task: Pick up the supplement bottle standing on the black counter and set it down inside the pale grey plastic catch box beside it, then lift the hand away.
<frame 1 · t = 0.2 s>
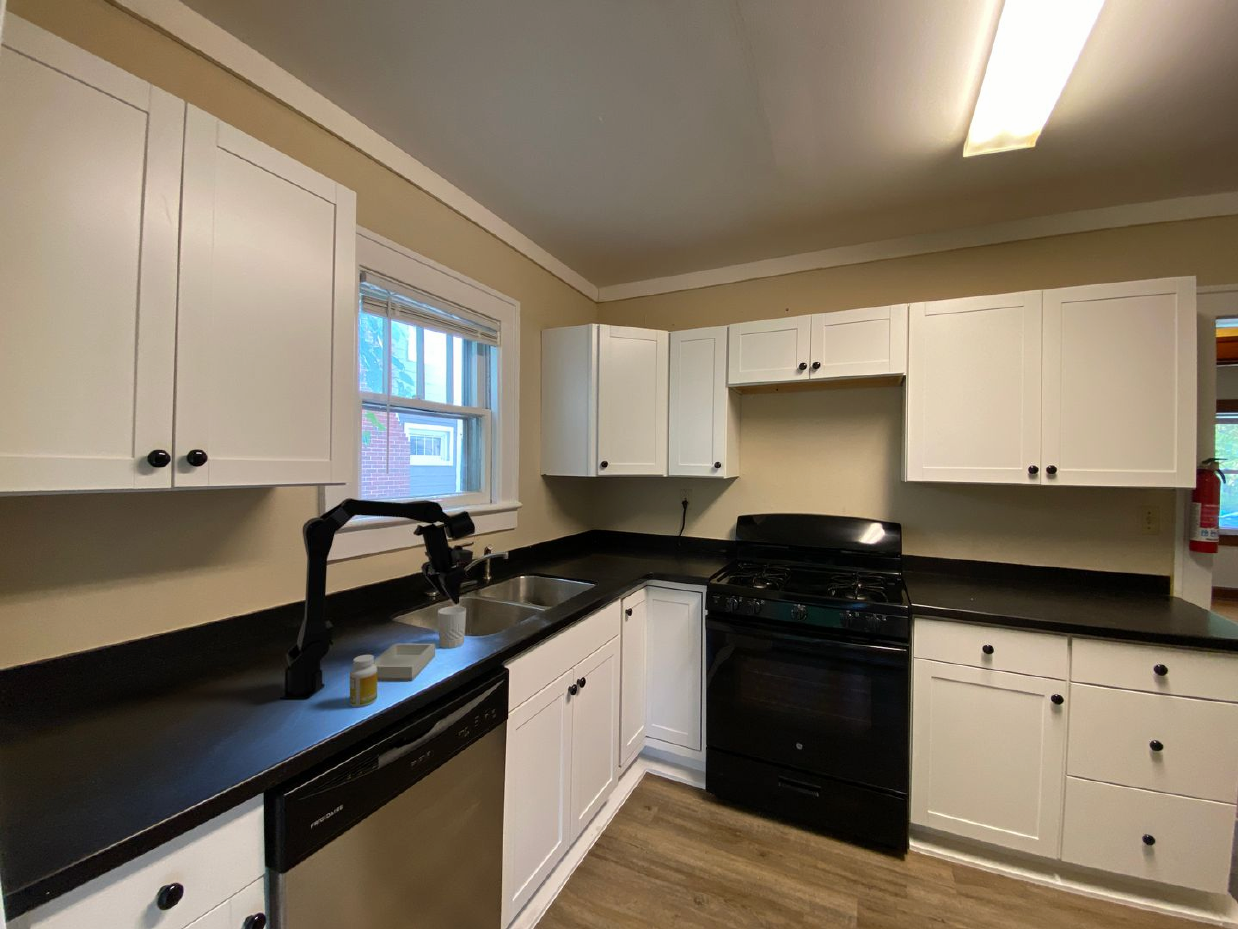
hand: (450, 600, 133), 15 cm above the counter, tool pointing down, fingers open, 9 cm apart
catch box: (402, 668, 125), on the counter
supplement bottle: (363, 702, 108), on the counter
white cup: (451, 645, 142), on the counter
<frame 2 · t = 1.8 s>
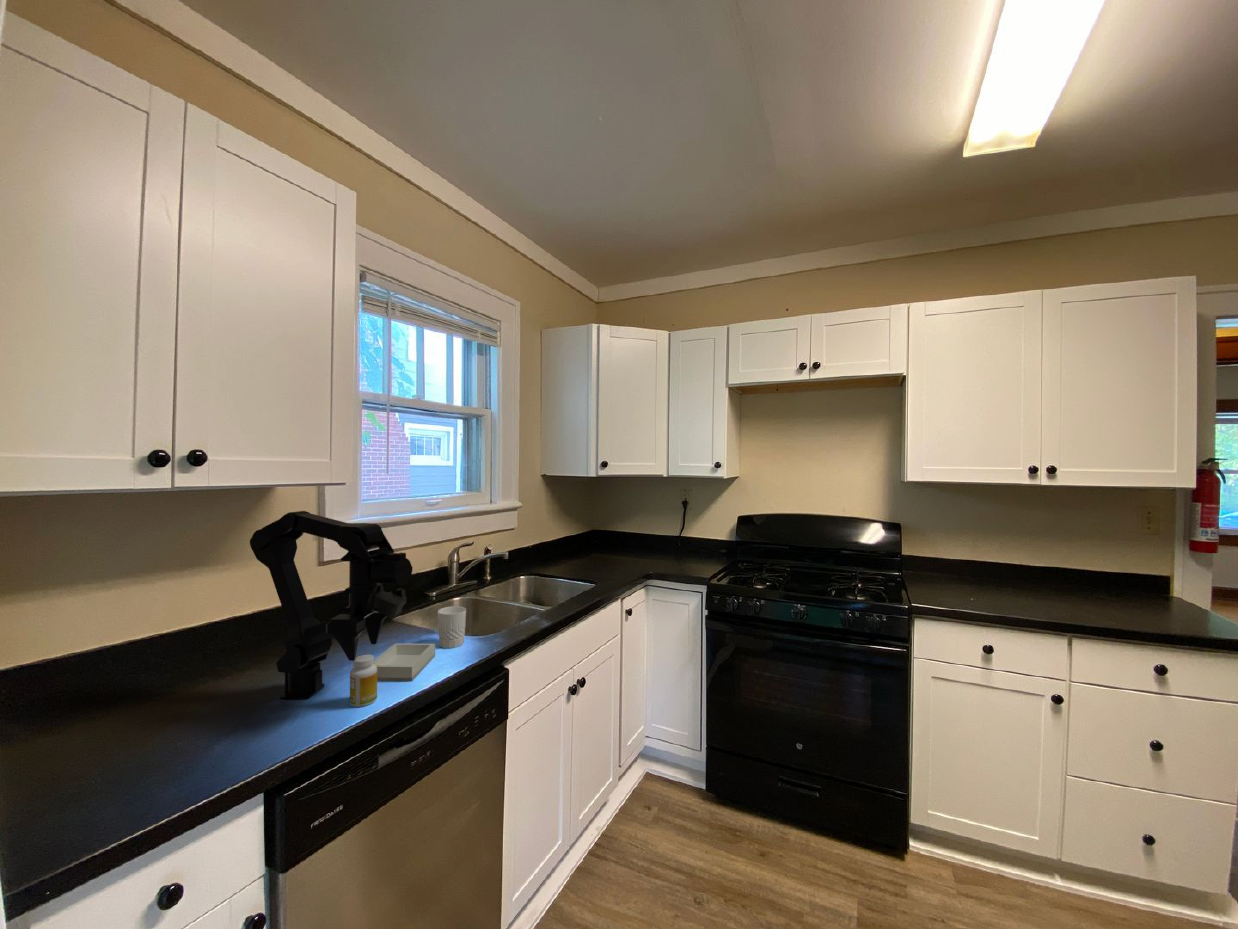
hand: (363, 652, 108), 11 cm above the counter, tool pointing down, fingers open, 9 cm apart
nothing on the counter moved.
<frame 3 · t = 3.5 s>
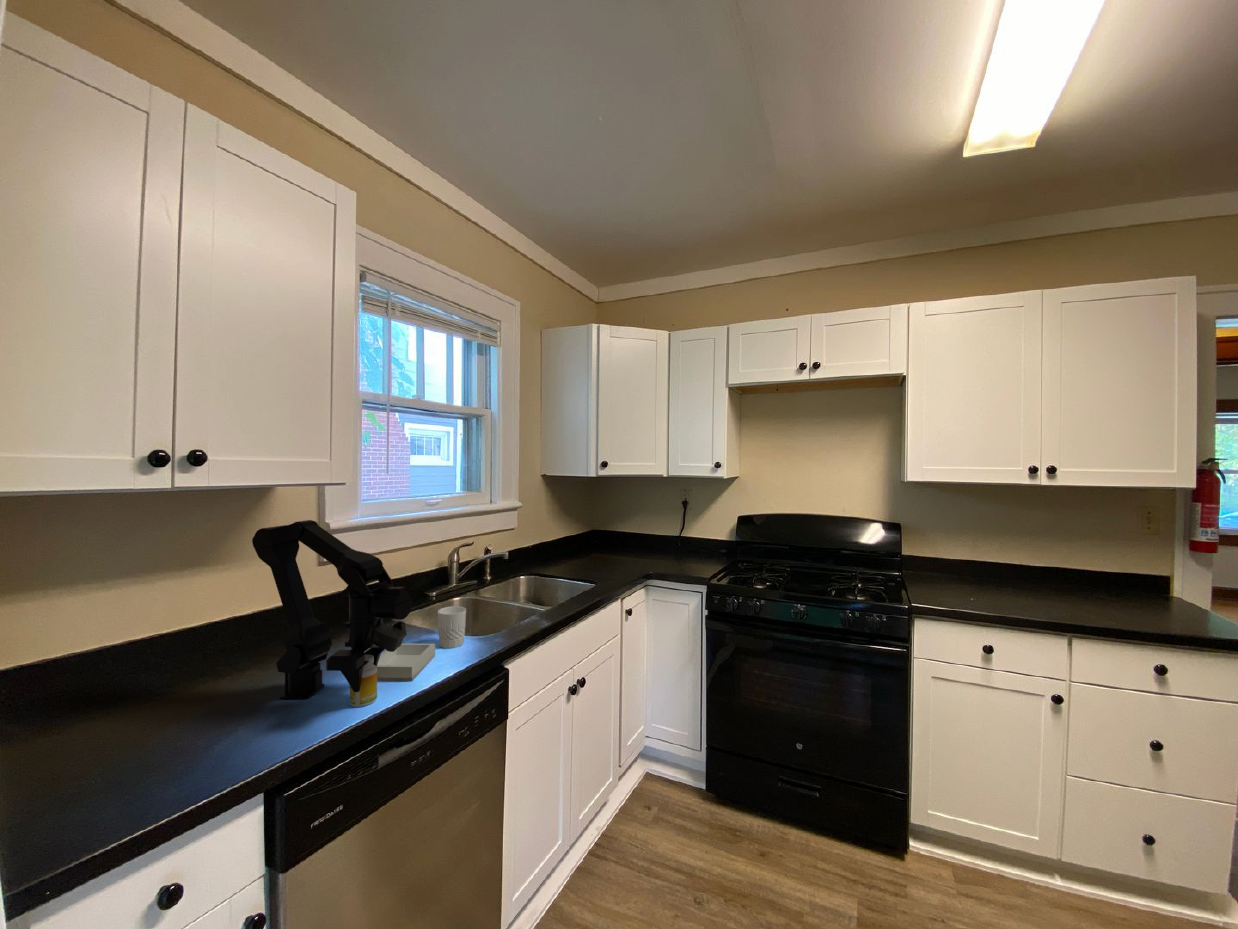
hand: (363, 685, 108), 4 cm above the counter, tool pointing down, fingers closed on supplement bottle, 5 cm apart
supplement bottle: (363, 702, 108), on the counter, touching gripper
everything else where it was.
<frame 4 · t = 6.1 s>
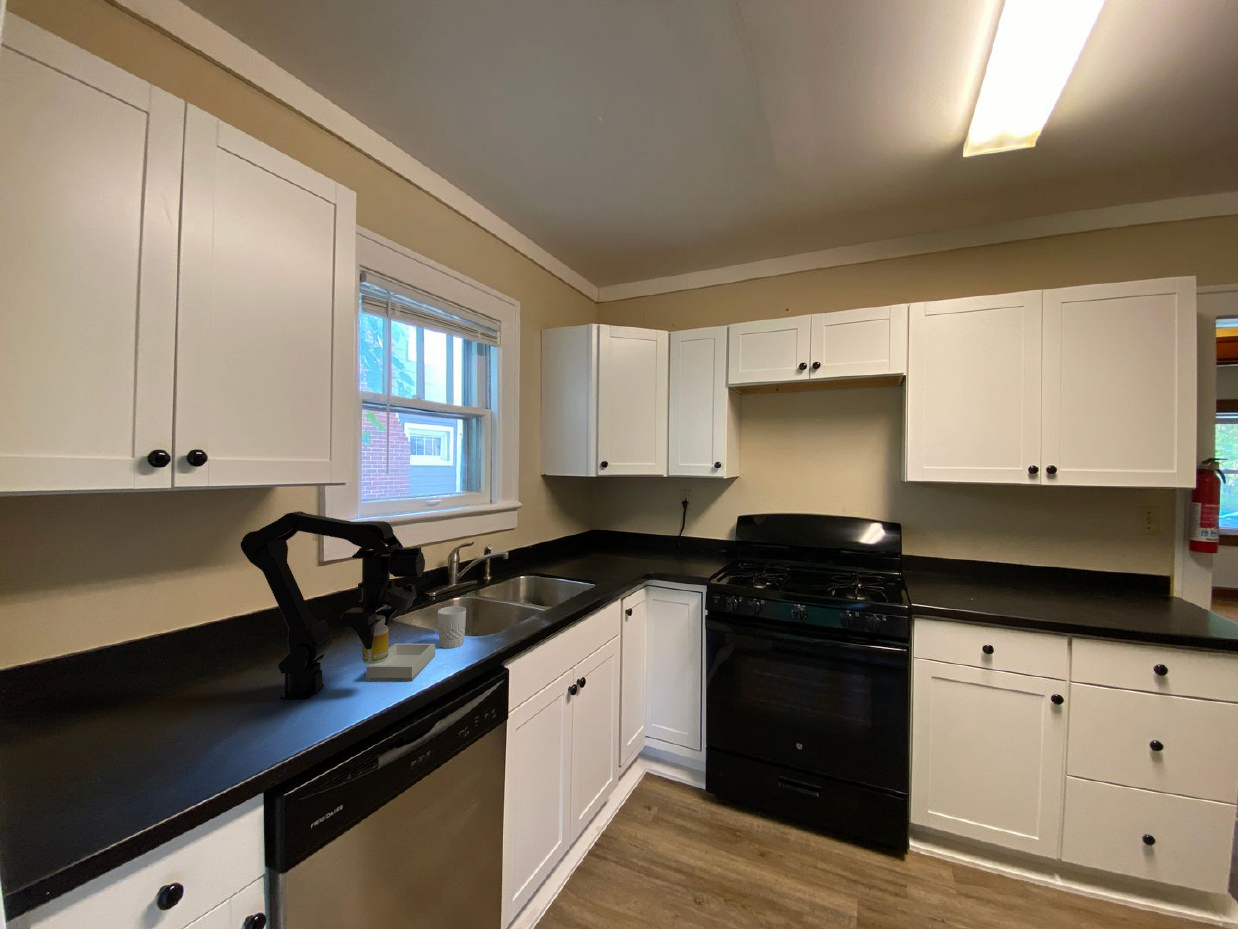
hand: (375, 644, 112), 11 cm above the counter, tool pointing down, fingers closed on supplement bottle, 5 cm apart
supplement bottle: (375, 660, 112), point 7 cm above the counter, touching gripper
everything else where it was.
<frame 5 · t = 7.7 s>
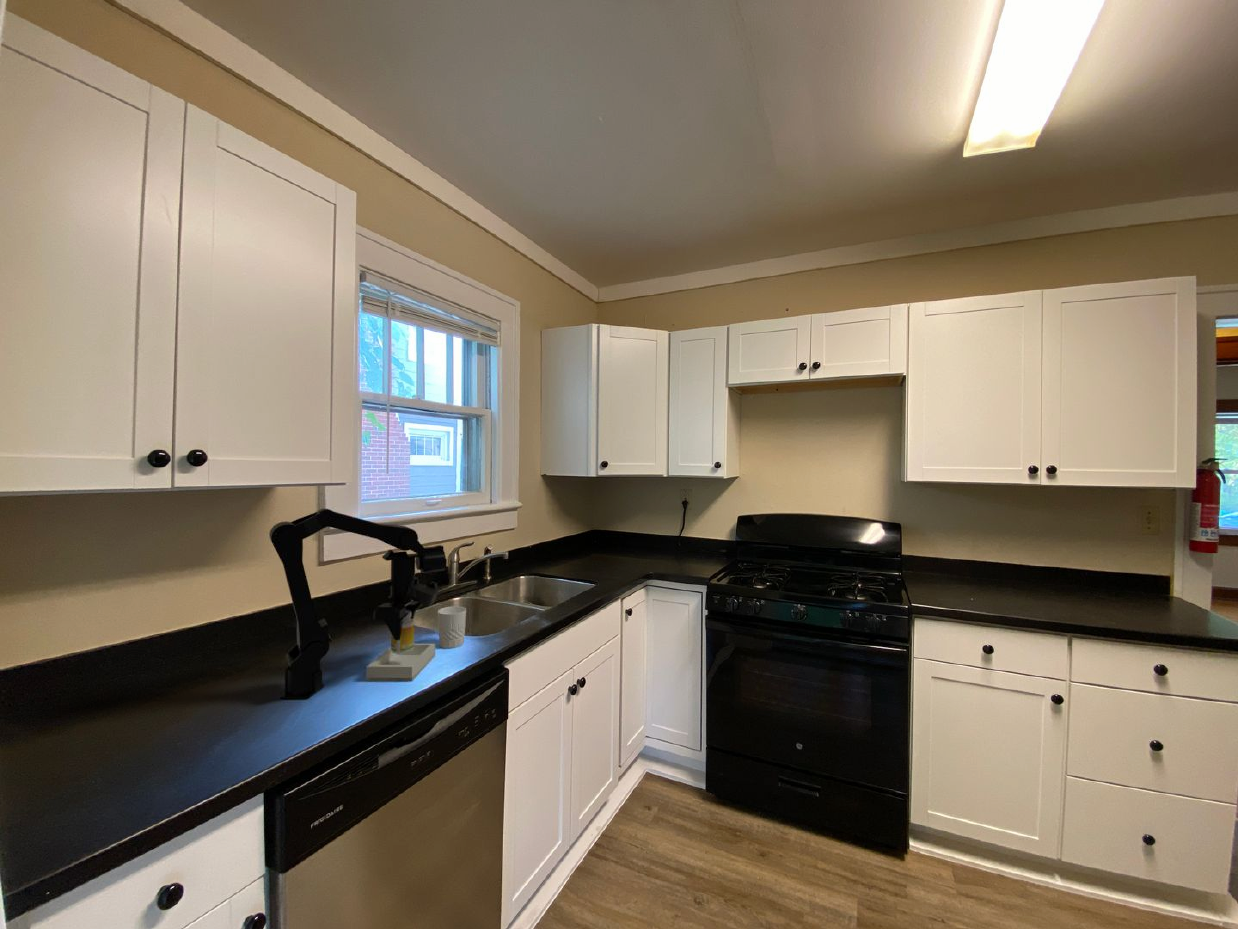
hand: (402, 636, 125), 8 cm above the counter, tool pointing down, fingers closed on supplement bottle, 5 cm apart
supplement bottle: (402, 650, 125), point 5 cm above the counter, touching gripper
everything else where it was.
when the fingers open (6 cm above the counter, at t = 9.0 s): supplement bottle drops 1 cm, resting on catch box.
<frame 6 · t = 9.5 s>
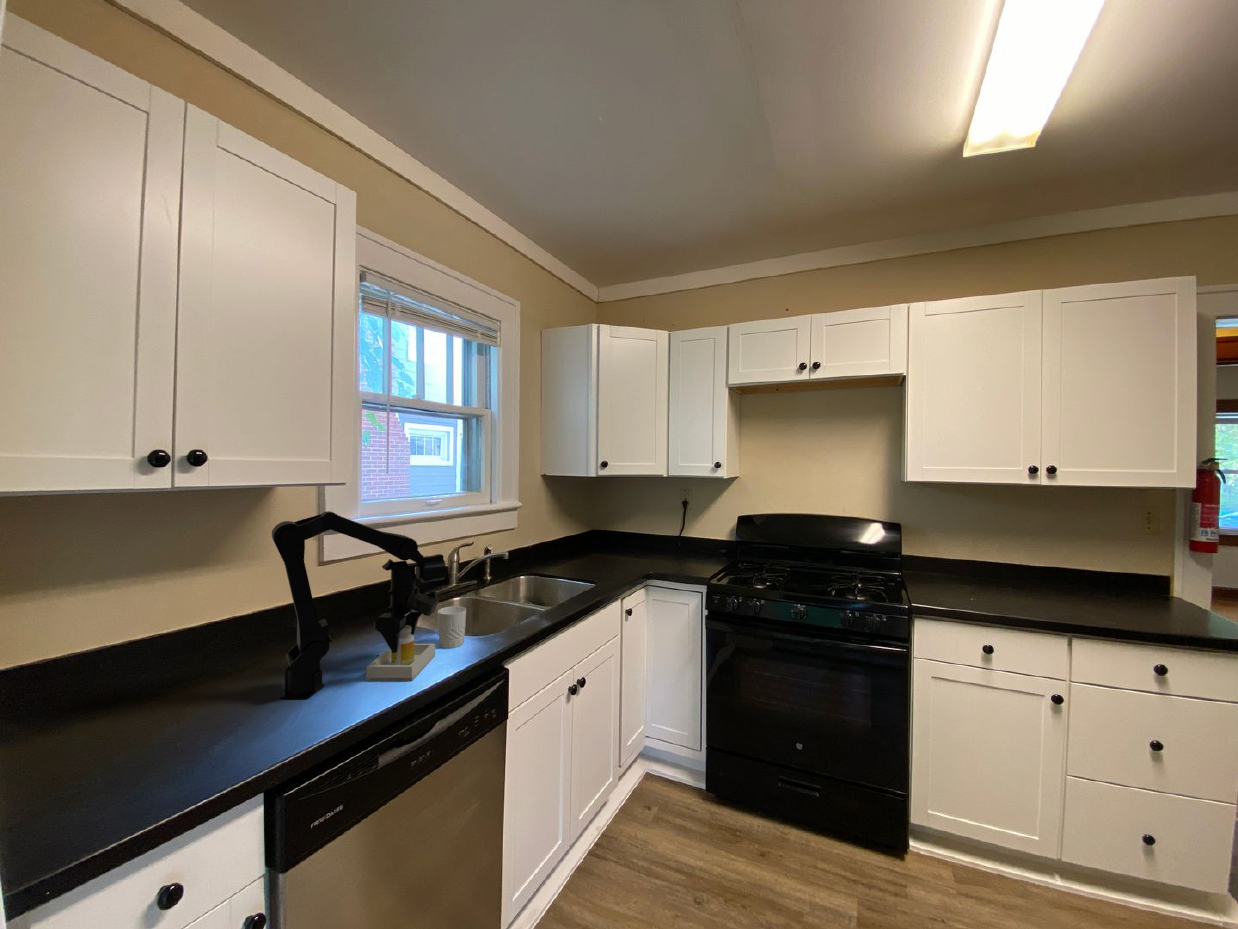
hand: (402, 645, 125), 6 cm above the counter, tool pointing down, fingers open, 9 cm apart
supplement bottle: (402, 666, 125), point 1 cm above the counter, touching catch box
everything else where it was.
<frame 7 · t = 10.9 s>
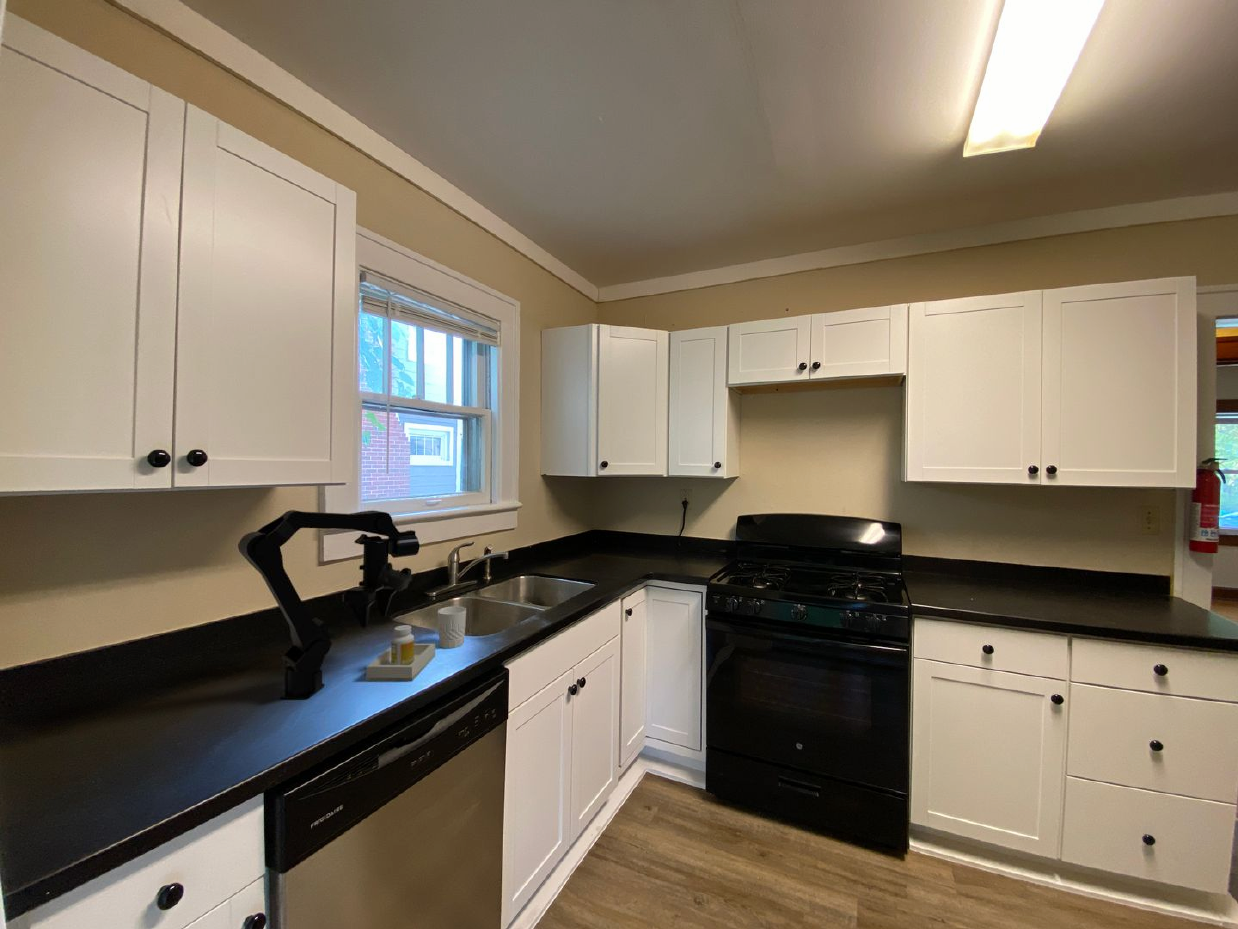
hand: (374, 621, 124), 12 cm above the counter, tool pointing down, fingers open, 9 cm apart
nothing on the counter moved.
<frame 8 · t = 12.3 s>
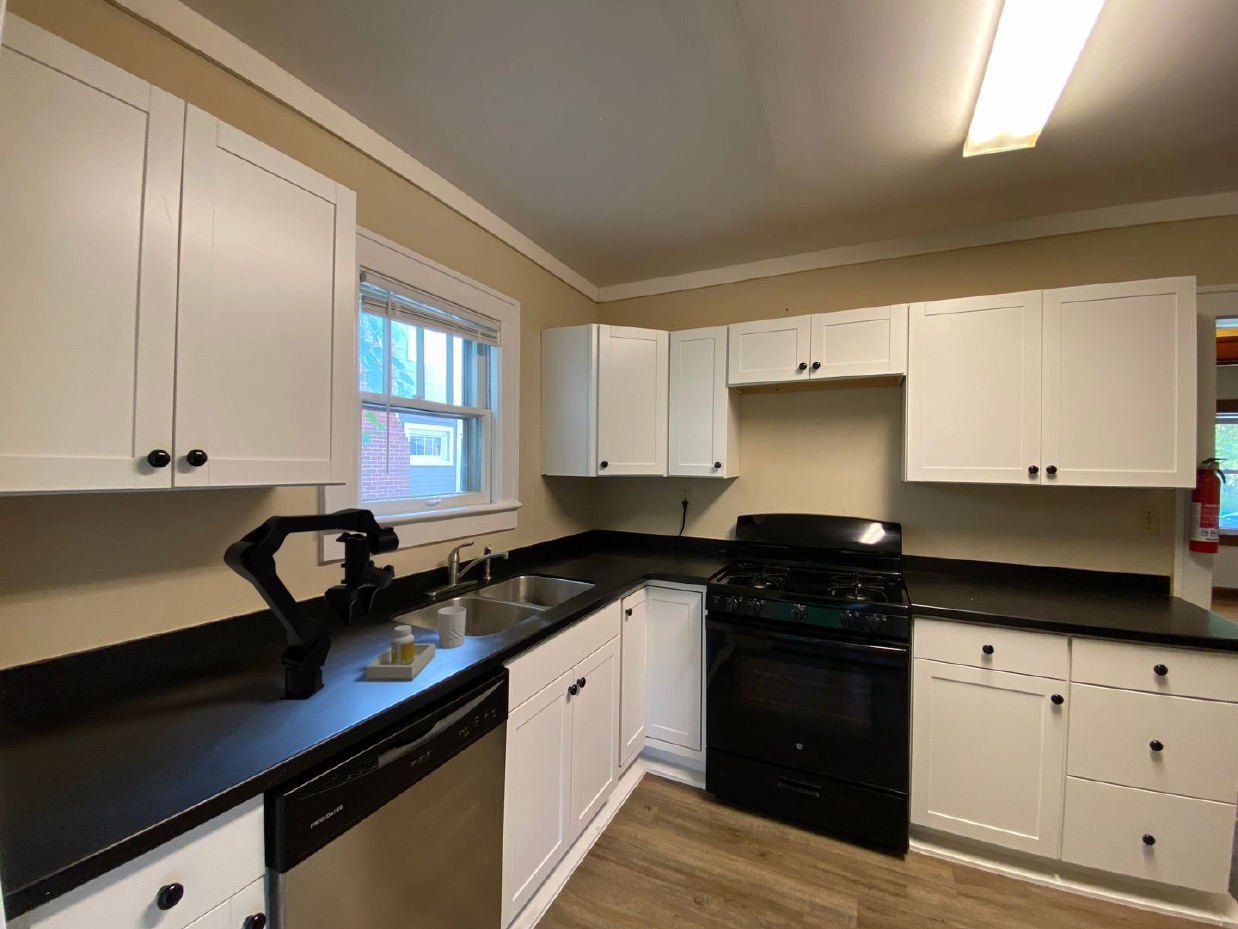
hand: (357, 619, 124), 13 cm above the counter, tool pointing down, fingers open, 9 cm apart
nothing on the counter moved.
at the end: supplement bottle inside the target area on the catch box (0.2 cm from its centre), point 0.6 cm above the catch box's base; supplement bottle tilted 0°; the gripper is holding nothing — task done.
